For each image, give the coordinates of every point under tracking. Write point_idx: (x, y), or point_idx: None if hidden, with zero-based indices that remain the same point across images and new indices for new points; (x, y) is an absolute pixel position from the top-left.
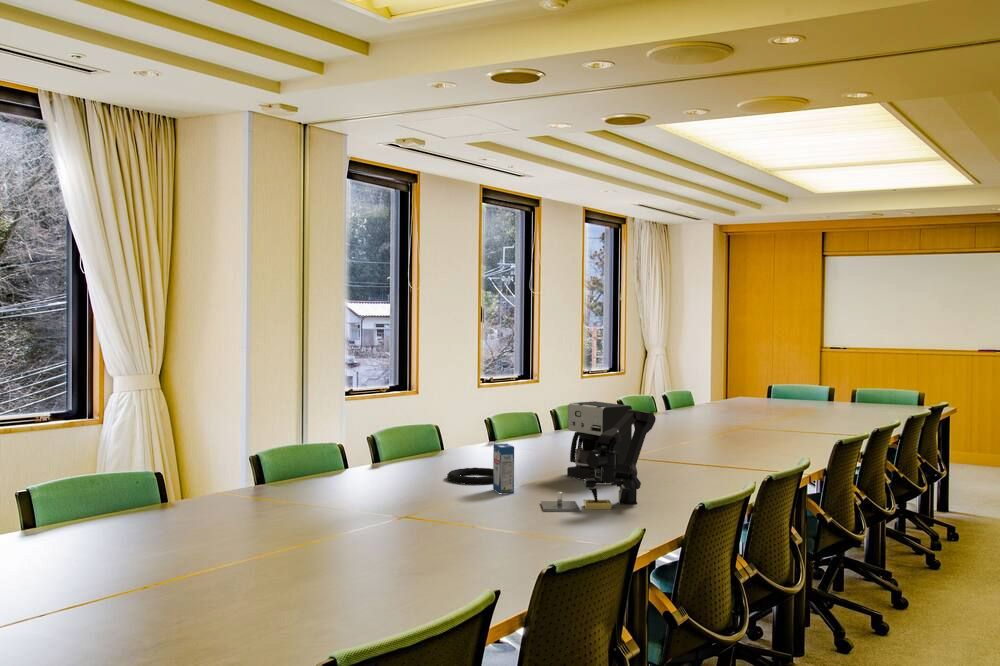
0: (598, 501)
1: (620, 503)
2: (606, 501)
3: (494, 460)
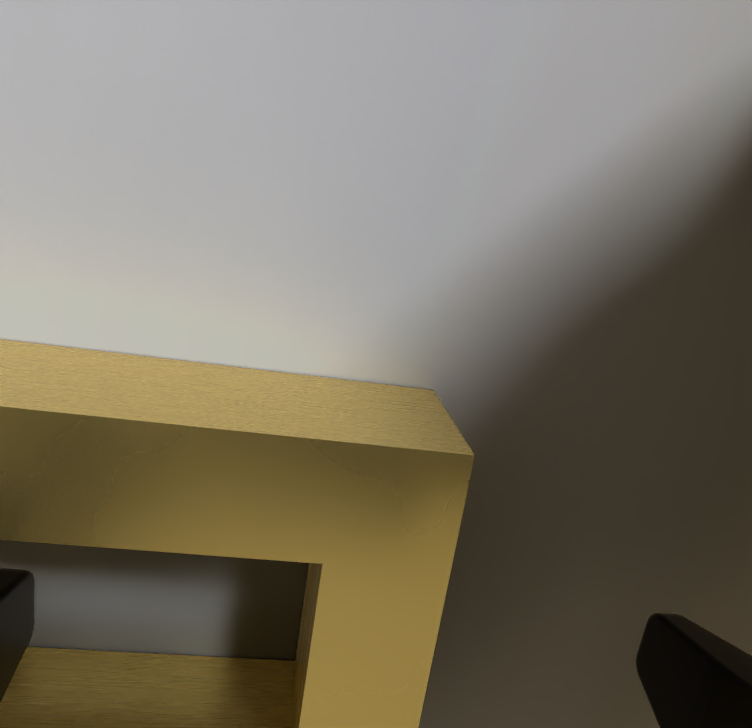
0: (74, 524)
1: (675, 709)
2: (307, 701)
3: None
